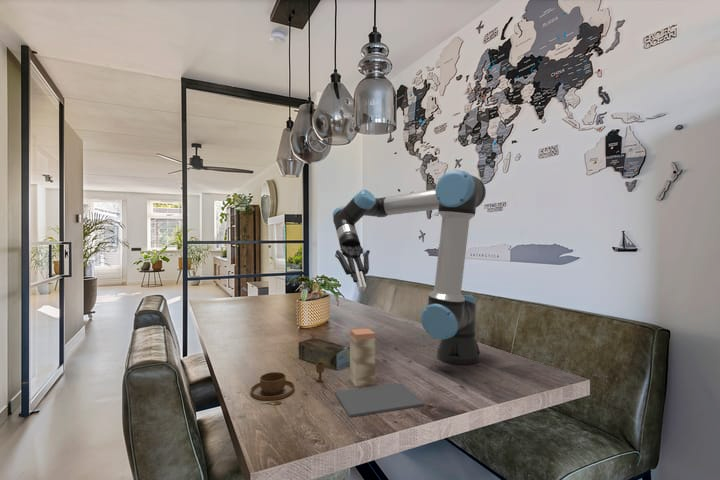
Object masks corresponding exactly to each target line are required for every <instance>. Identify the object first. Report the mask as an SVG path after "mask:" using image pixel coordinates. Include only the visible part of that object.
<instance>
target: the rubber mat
mask: <svg viewBox="0 0 720 480" xmlns="http://www.w3.org/2000/svg"><path fill="white" fill-rule="evenodd" d="M334 395H335V396H336V398H337V399H338V402H340V404H341V406H342V408H343V409H344V411H345V413H346V414H347V416H348V417H349V418H354V417H355V418H356V417H359V416H367V415H372V414H379V413H385V412H391V411H398V410H399V411H400V410H404V409H411V408H412V409H413V408H418V407H424V406H425V403H424V402H423V401H422V400H421V399H420V398H419V397H418V396H416V395H415V393H413V392H412V391H411V390H410V389H409V388H407V386H405V385H404V384H403V383H402V382H397V383H396V382H395V383H391V384H382V385H376V386H375V385H374V386H368V387H359V388H353V389H344V390H335V391H334Z"/></svg>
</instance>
